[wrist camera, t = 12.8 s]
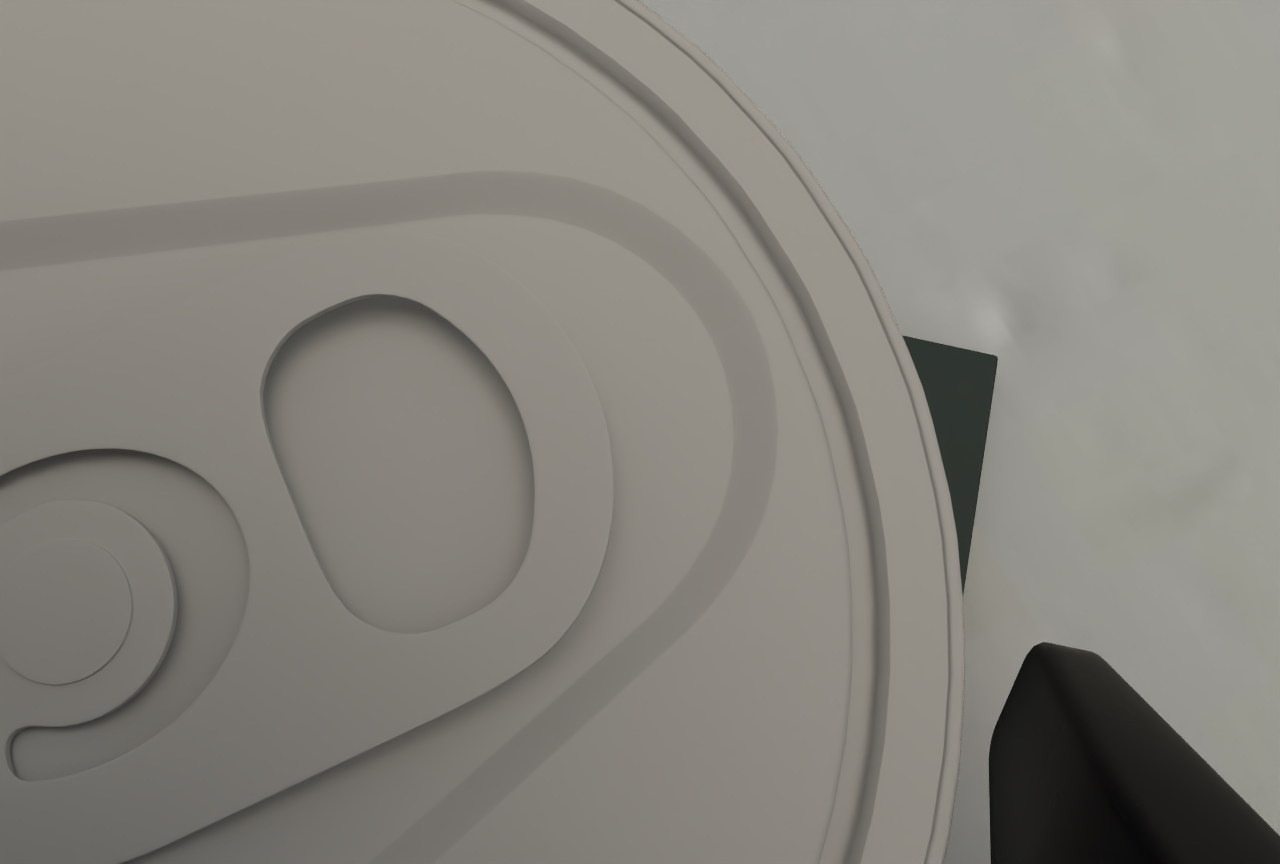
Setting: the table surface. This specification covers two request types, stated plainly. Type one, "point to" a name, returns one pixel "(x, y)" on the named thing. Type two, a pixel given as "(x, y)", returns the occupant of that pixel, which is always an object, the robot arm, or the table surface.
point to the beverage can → (449, 454)
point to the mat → (958, 422)
